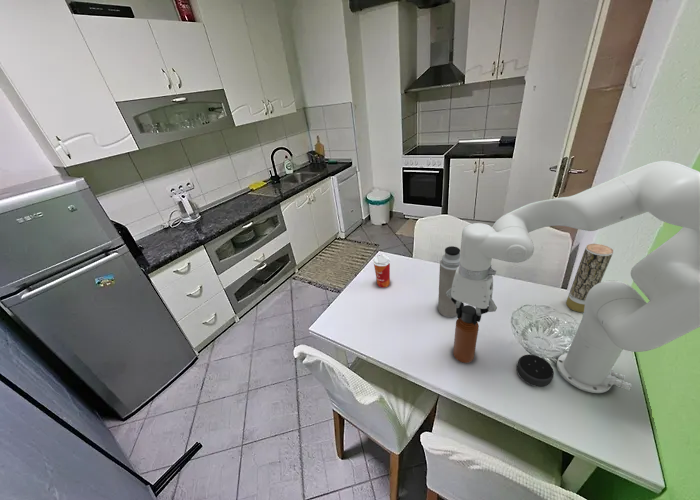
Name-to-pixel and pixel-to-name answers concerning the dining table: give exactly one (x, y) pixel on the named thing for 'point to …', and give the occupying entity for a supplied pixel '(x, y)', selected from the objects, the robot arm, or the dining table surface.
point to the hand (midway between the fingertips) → (467, 318)
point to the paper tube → (588, 274)
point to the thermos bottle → (447, 280)
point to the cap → (468, 313)
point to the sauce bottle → (465, 341)
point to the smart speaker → (535, 370)
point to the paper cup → (382, 270)
